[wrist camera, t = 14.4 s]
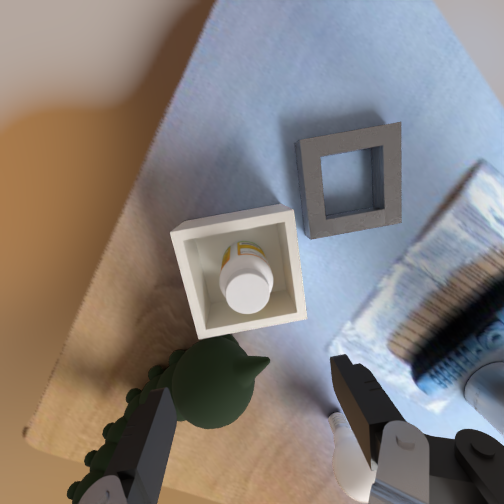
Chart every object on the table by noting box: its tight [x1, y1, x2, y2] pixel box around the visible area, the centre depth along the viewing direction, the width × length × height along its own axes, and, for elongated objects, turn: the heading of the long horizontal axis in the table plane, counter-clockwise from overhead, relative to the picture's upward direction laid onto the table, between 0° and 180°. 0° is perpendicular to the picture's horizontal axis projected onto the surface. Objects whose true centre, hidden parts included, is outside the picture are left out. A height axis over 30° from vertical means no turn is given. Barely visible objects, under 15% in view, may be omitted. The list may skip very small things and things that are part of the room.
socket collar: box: [294, 122, 402, 239], centre depth 29 cm, size 11×11×2 cm
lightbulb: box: [328, 412, 377, 503], centre depth 35 cm, size 6×6×11 cm
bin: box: [170, 204, 307, 339], centre depth 29 cm, size 12×12×7 cm
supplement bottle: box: [219, 241, 273, 314], centre depth 27 cm, size 5×5×10 cm
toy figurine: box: [67, 334, 270, 504], centre depth 28 cm, size 9×19×25 cm
